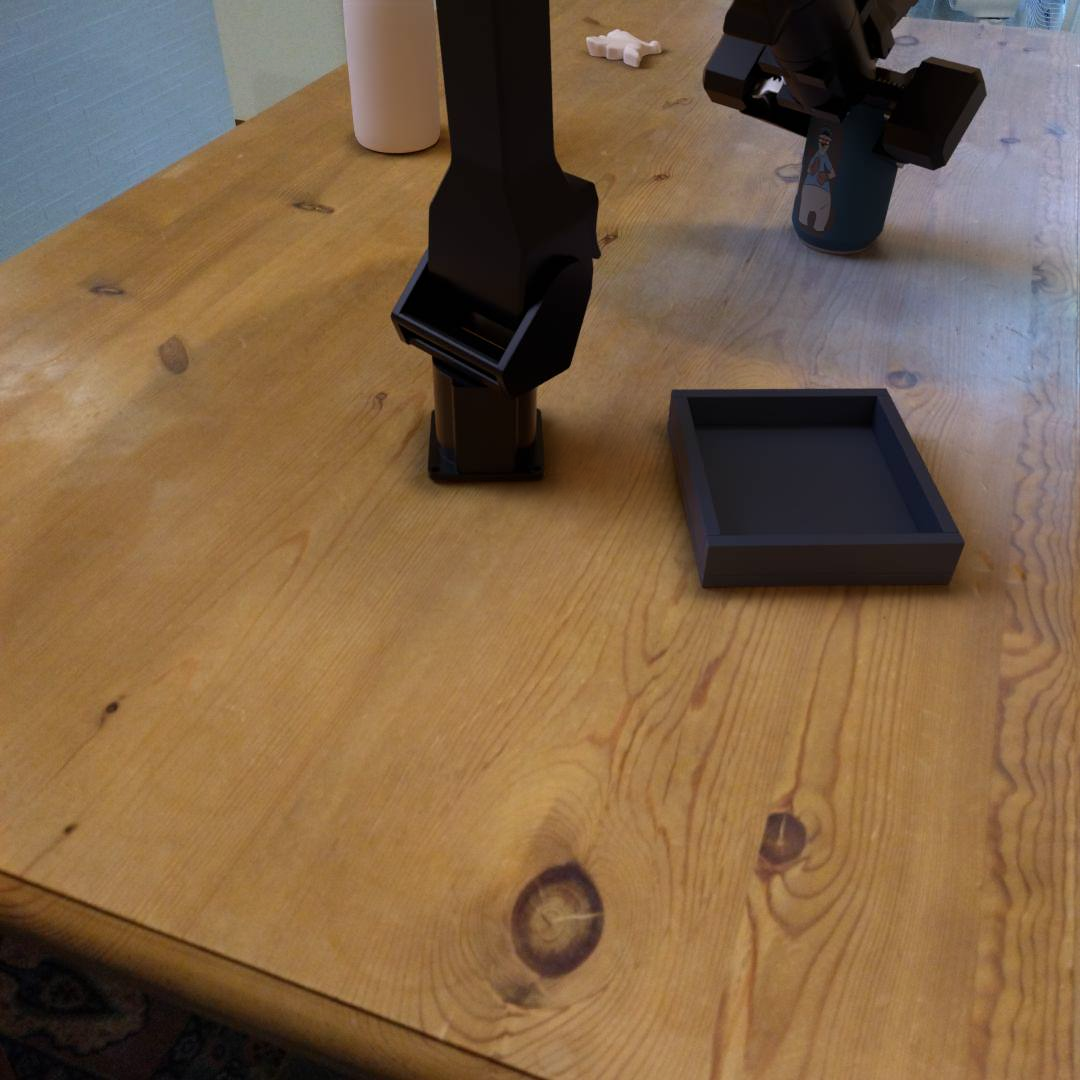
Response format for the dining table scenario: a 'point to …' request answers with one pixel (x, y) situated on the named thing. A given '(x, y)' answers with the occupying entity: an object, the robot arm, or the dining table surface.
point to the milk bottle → (393, 73)
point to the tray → (807, 490)
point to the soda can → (843, 183)
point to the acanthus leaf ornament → (621, 47)
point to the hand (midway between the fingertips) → (861, 148)
